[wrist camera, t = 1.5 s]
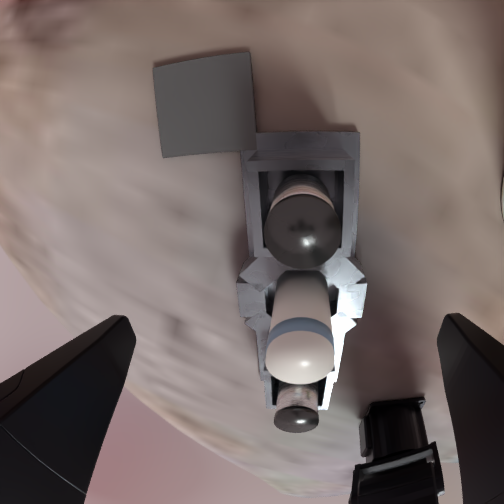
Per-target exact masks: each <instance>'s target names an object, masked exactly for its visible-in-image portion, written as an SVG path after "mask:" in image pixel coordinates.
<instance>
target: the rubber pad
mask: <svg viewBox="0 0 504 504" xmlns="http://www.w3.org/2000/svg"><path fill="white" fill-rule="evenodd" d="M153 78H154V89H155V99H156V108H157V117H158V126H159V134H160V141H161V149H162V156H163V158H168V157H177V156H186V155H195V154H206V153H217V152H231V151H246V150H257V143H256V133H257V130H256V117H255V104H254V92H253V79H252V67H251V55H250V52H242V53H233V54H225V55H218V56H211V57H205V58H199V59H193V60H188V61H183V62H178V63H173V64H168V65H164V66H160V67H155V68H153Z"/></svg>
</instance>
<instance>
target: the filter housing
mask: <svg viewBox="0 0 504 504" xmlns="http://www.w3.org/2000/svg"><path fill="white" fill-rule="evenodd" d="M256 143H257V150H246V151H240V155H241V167H242V178H243V190H244V201H245V213H246V224H247V235H248V247H249V258H248V259H247V260H246V261H245V262H244V263H243V266H242V268H241V271H240V274H239V277H238V280H237V282H236V285H237V294H238V302H239V310H240V317H246V320H245V324H246V325H248V326H249V327H250V328H252V329H253V330H254V331H256V336H257V347H258V358H259V368H260V379H261V380H262V381H264V385H265V398H266V408H270V409H276V406H277V398H278V389H279V379H277V378H275V377H274V376H273V375H272V374H270V372H269V371H268V369H267V367H266V364H265V359H266V346H267V340H268V335H269V332H270V326H271V319H272V312H273V305H274V298H275V291H276V284H277V281H278V279H279V277H280V276H281V274H282V273H284V272H285V271H286V270H318V271H319V272H321V273H322V274H323V276H324V277H325V279H326V281H327V285H328V294H329V303H330V312H331V322H332V333H333V336H334V345H335V364H334V367H333V369H332V371H331V372H330V373H329V374H328V375H327V376H326V377H324V378H323V379H321V380H319V381H318V410H328V405H329V401H330V396H331V391H332V386H333V382H336V381H337V376H338V371H339V365H340V360H341V354H342V349H343V343H344V337H345V332H347V331H348V330H350V329H351V328H353V327H354V326H355V325H357V320H356V318H362V313H363V307H364V301H365V295H366V289H367V281H366V278H365V275H364V272H363V269H362V266H361V263H360V262H359V261H358V260H357V259H356V258H355V246H356V233H357V219H358V200H359V169H360V132H346V131H286V132H261V133H256ZM295 174H308V175H311V176H314V177H316V178H318V179H319V180H320V181H321V182H322V183H323V184H324V185H325V186H326V188H327V190H328V192H329V195H330V198H331V201H332V204H333V207H334V210H335V212H336V214H337V216H338V219H339V222H340V225H341V233H342V235H341V241H340V245H339V247H338V249H337V251H336V252H335V254H334V255H333V256H332V257H331V258H330V259H329V260H328V261H326V262H325V263H323V264H321V265H319V266H317V267H313V268H308V269H297V268H292V267H289V266H286V265H284V264H282V263H281V262H279V261H278V260H277V259H275V258H274V257H273V256H272V254H271V253H270V252H269V250H268V248H267V246H266V243H265V240H264V226H265V222H266V219H267V216H268V214H269V212H270V208H271V205H272V201H273V197H274V194H275V191H276V188H277V187H278V185H279V184H280V183H281V182H282V181H283V180H284V179H286V178H287V177H289V176H292V175H295Z"/></svg>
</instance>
